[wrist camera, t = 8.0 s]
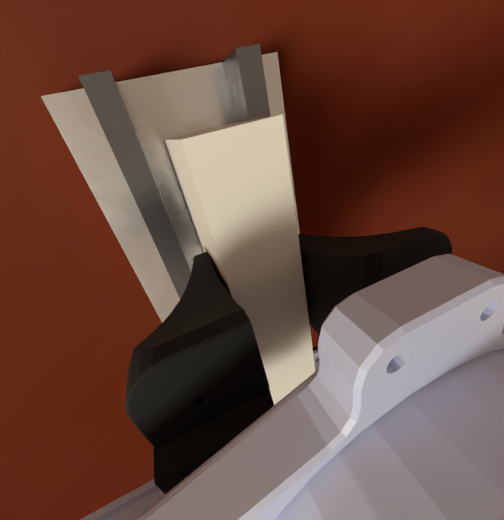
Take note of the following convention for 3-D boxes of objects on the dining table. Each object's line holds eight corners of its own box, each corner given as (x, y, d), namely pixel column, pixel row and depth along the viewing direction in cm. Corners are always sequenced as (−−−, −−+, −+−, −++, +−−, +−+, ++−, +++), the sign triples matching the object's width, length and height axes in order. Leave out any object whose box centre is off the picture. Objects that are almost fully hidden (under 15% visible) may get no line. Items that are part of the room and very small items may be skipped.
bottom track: (302, 302, 20) (324, 325, 18) (183, 355, 18) (189, 389, 16) (268, 57, 12) (299, 36, 10) (49, 99, 10) (17, 86, 8)
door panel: (261, 312, 18) (318, 397, 12) (229, 326, 17) (272, 423, 11) (215, 126, 12) (282, 114, 6) (163, 139, 11) (181, 139, 5)
